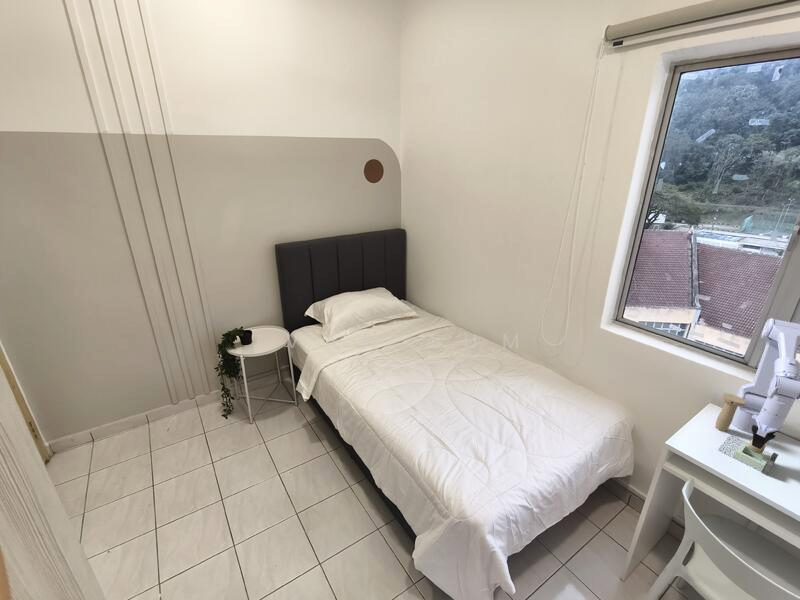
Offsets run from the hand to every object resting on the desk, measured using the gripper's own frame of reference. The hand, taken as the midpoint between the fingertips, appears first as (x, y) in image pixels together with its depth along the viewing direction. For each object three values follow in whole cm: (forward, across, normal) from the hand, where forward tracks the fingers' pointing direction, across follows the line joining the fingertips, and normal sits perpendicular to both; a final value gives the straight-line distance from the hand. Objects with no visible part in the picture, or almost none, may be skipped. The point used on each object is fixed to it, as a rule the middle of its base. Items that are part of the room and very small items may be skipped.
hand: (758, 444), depth 122 cm
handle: (+8, -10, -11) cm, 17 cm away
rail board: (+8, -2, -1) cm, 8 cm away
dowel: (+2, 0, 0) cm, 2 cm away
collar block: (+7, 0, 0) cm, 7 cm away
